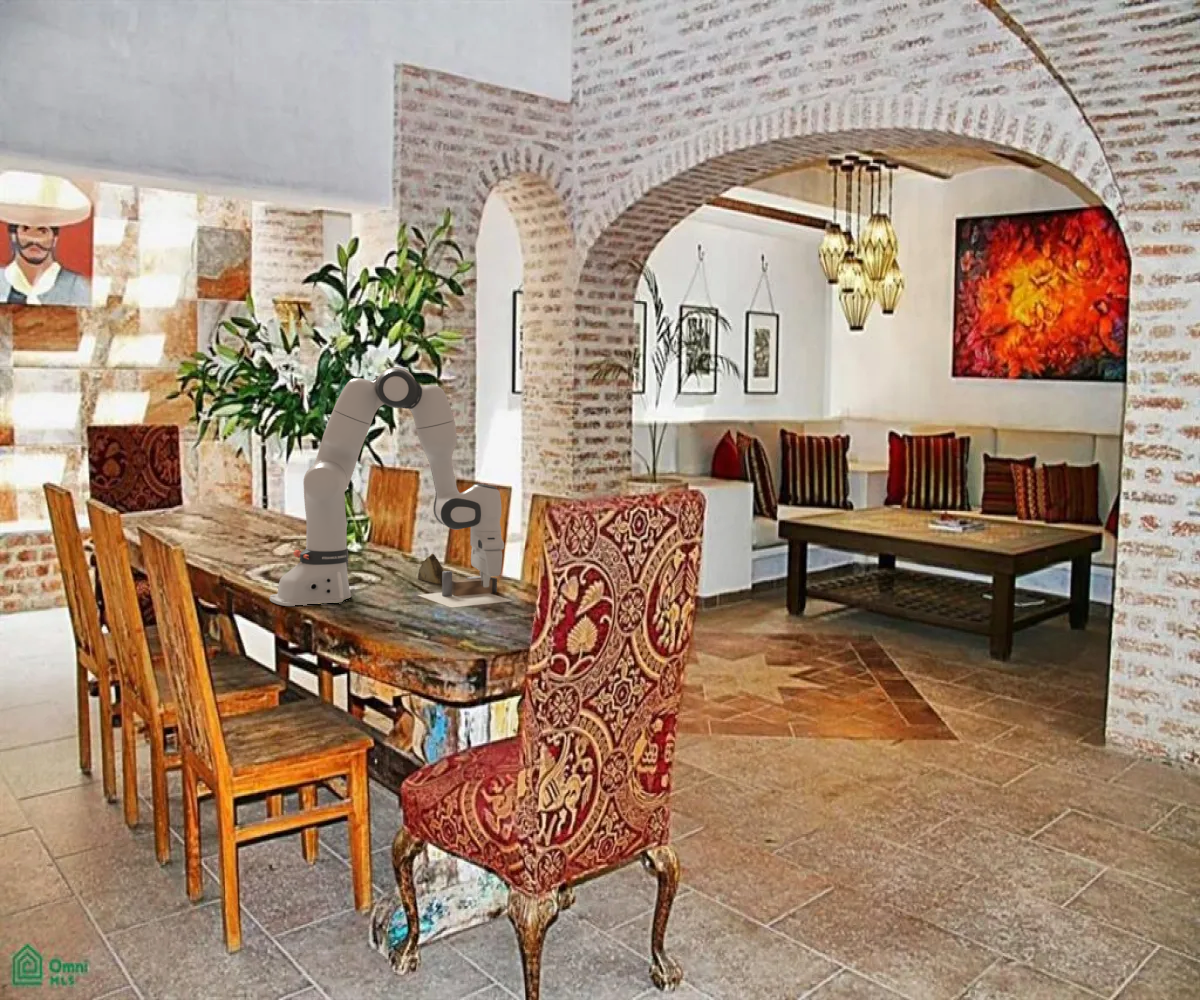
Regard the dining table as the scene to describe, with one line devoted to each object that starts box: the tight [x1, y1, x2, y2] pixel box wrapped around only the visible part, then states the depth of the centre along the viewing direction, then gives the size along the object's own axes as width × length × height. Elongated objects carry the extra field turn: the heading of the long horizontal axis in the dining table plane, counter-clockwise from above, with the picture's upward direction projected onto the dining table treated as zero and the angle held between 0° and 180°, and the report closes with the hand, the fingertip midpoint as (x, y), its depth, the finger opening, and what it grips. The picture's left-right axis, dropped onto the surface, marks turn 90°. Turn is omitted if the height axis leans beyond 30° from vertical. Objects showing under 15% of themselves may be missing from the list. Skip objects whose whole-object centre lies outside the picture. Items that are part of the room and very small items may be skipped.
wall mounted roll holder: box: [417, 570, 513, 608], centre depth 321 cm, size 20×20×8 cm
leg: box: [452, 577, 498, 596], centre depth 328 cm, size 14×3×4 cm, turn 124°
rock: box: [417, 553, 444, 585], centre depth 347 cm, size 11×9×10 cm
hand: (485, 586), depth 327 cm, fingers closed
